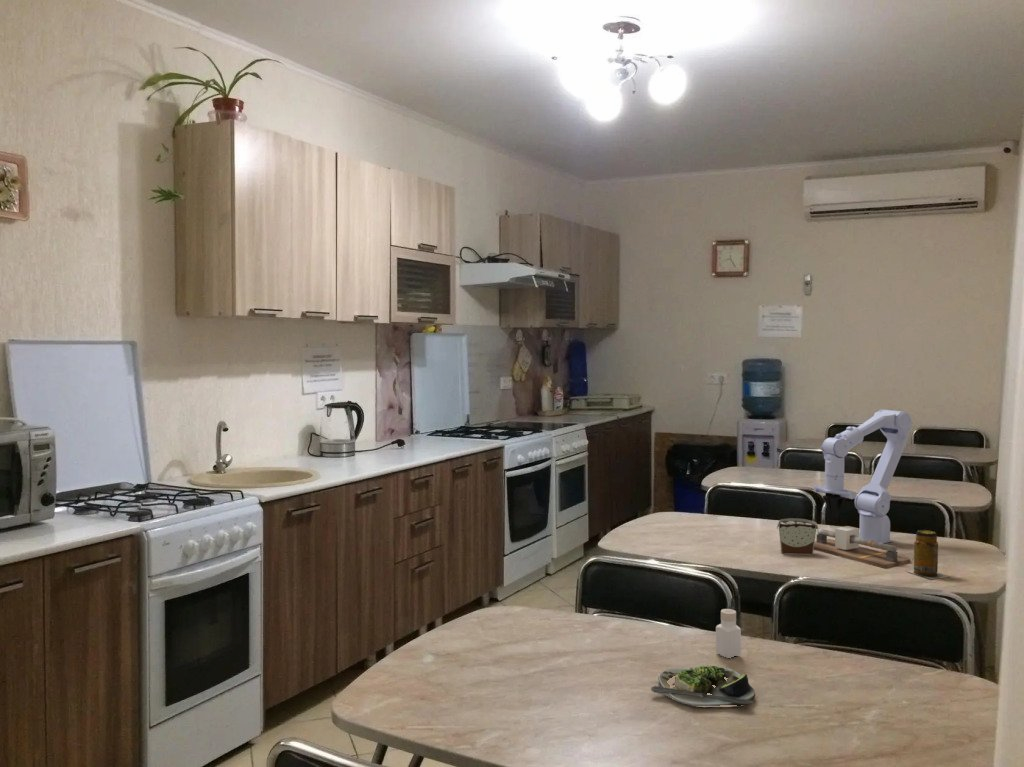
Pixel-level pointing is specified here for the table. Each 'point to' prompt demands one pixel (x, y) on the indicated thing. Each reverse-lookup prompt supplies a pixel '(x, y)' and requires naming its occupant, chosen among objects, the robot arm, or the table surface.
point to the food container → (797, 536)
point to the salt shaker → (728, 635)
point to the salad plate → (706, 686)
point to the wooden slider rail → (860, 550)
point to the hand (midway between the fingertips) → (833, 517)
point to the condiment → (926, 555)
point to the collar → (846, 537)
